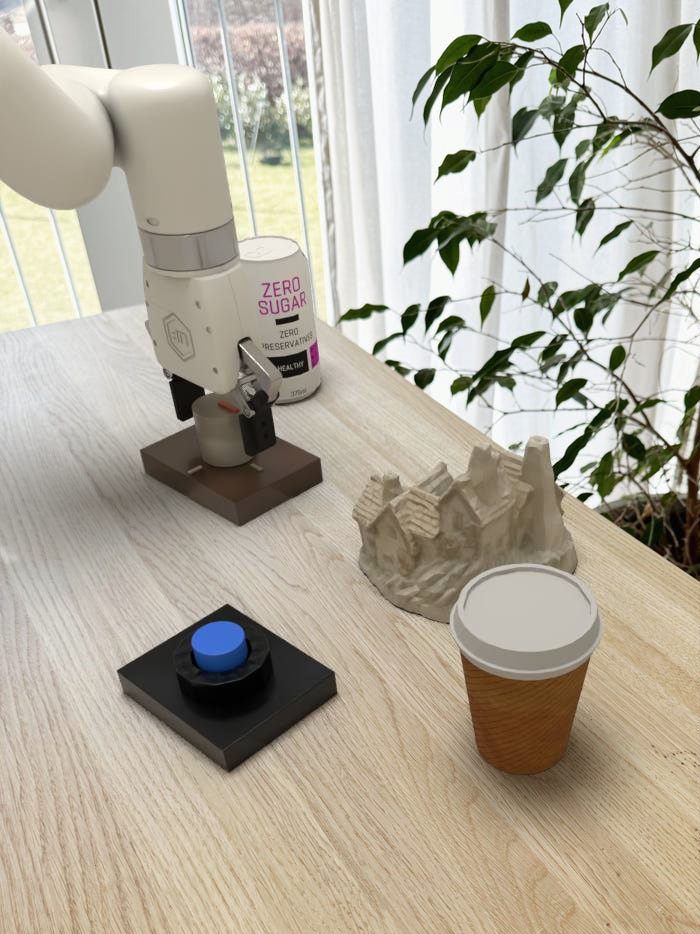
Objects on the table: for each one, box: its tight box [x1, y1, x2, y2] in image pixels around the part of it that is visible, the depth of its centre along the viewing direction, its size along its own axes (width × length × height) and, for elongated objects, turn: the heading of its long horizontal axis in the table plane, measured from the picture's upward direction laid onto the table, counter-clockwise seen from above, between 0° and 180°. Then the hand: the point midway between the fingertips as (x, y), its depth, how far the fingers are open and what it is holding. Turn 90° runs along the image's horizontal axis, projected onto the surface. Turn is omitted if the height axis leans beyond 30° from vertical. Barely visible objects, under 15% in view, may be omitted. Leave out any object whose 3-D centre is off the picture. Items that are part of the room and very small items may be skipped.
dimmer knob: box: [192, 391, 254, 467], centre depth 91 cm, size 5×5×5 cm
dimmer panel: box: [139, 423, 324, 527], centre depth 94 cm, size 14×10×3 cm
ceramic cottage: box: [351, 435, 579, 624], centre depth 80 cm, size 16×16×15 cm
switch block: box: [116, 603, 338, 774], centre depth 71 cm, size 12×10×4 cm
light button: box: [191, 621, 248, 673], centre depth 70 cm, size 4×4×2 cm
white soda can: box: [238, 234, 322, 404], centre depth 103 cm, size 8×8×15 cm
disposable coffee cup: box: [449, 563, 605, 775], centre depth 65 cm, size 10×10×12 cm
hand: (226, 432), depth 92 cm, fingers open, 9 cm apart
